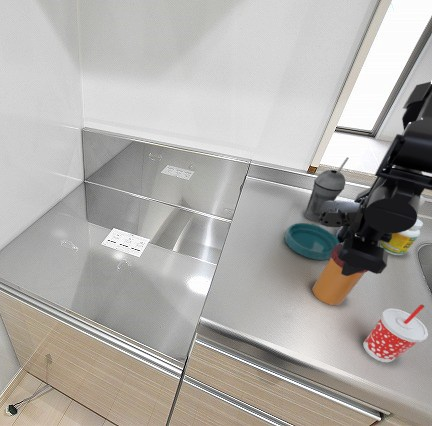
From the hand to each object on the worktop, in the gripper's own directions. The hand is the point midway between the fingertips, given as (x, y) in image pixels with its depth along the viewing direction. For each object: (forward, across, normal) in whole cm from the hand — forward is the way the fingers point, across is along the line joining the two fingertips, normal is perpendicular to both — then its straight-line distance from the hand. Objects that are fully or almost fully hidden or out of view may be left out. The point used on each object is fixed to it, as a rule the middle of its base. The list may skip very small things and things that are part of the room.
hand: (346, 264), depth 60 cm
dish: (+10, -16, -7) cm, 20 cm away
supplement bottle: (+10, -28, +10) cm, 31 cm away
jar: (+10, 0, 0) cm, 10 cm away
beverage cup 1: (+10, -31, -9) cm, 34 cm away
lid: (-3, 0, 0) cm, 3 cm away
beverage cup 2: (+10, +8, +10) cm, 17 cm away
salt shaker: (+10, -35, +9) cm, 37 cm away
